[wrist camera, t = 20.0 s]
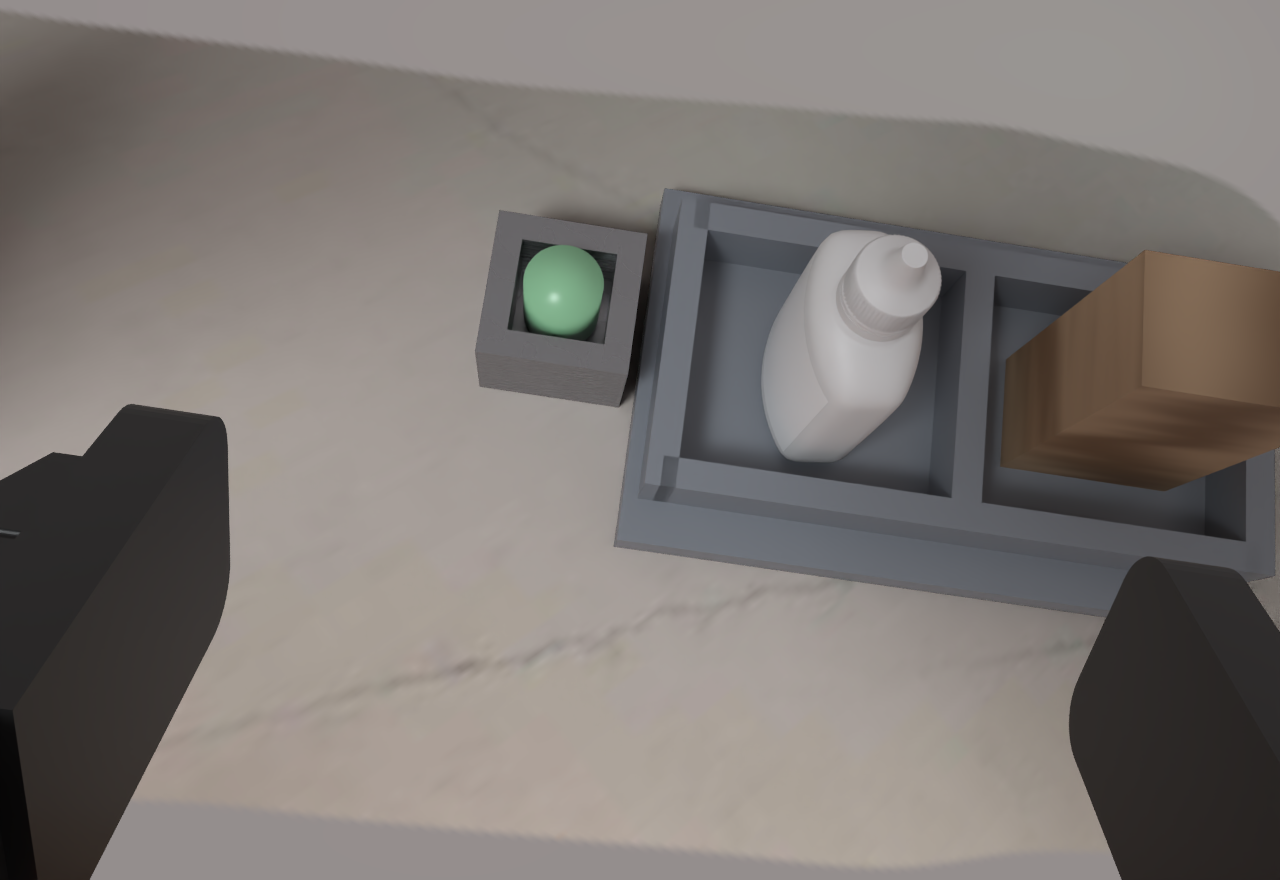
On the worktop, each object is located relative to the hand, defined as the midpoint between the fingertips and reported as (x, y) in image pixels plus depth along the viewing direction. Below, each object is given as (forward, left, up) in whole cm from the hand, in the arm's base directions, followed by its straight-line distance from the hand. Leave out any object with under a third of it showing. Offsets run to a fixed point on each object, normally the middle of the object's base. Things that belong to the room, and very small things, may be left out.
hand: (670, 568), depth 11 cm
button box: (-2, +13, -31) cm, 33 cm away
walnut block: (+17, +12, -29) cm, 36 cm away
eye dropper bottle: (+7, +11, -29) cm, 32 cm away
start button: (-2, +13, -29) cm, 31 cm away
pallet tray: (+12, +12, -31) cm, 35 cm away
